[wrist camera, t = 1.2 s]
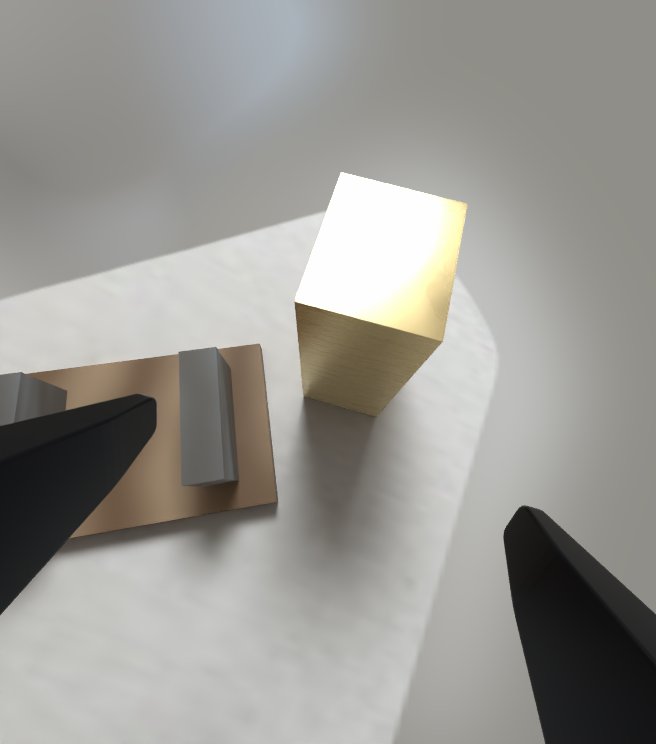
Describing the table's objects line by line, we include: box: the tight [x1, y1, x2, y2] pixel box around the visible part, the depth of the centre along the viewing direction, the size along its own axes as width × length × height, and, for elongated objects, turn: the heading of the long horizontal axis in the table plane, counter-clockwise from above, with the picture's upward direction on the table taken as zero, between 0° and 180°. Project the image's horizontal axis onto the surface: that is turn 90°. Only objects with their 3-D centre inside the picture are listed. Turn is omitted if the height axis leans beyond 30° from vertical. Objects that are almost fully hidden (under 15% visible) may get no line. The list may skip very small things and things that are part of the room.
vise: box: [0, 344, 278, 538], centre depth 19 cm, size 16×10×4 cm, turn 99°
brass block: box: [295, 173, 467, 417], centre depth 18 cm, size 6×5×12 cm
